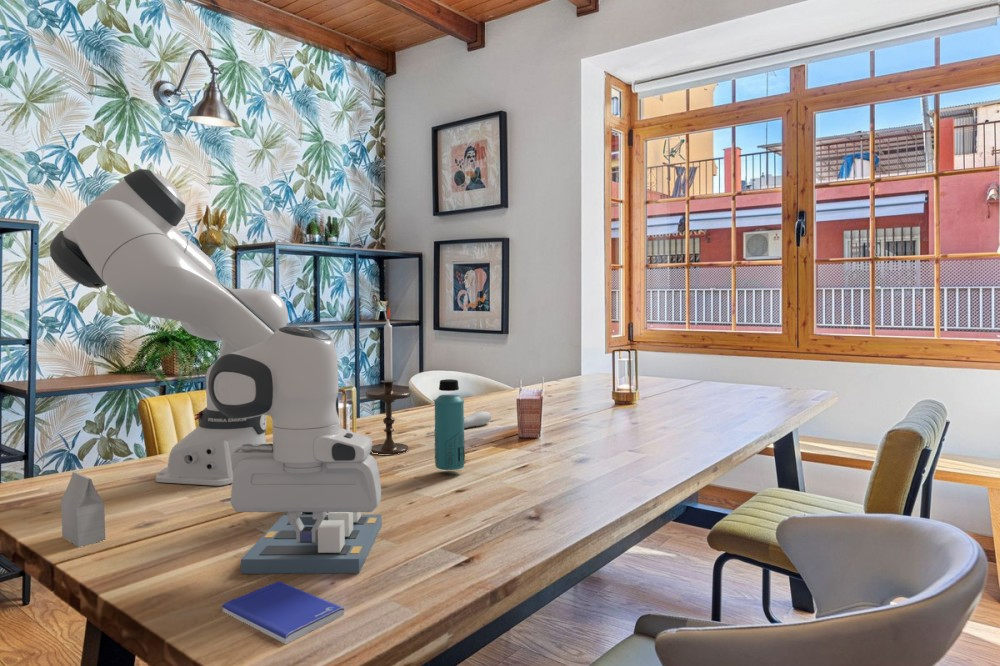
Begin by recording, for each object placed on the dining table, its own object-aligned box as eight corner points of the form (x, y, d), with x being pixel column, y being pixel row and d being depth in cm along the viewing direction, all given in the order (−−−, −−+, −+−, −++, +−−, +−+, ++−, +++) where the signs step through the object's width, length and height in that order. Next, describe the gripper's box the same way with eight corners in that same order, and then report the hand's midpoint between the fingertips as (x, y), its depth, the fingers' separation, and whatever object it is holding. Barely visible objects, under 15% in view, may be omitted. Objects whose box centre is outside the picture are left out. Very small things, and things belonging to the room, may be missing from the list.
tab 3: (338, 522, 102) (337, 500, 102) (342, 515, 105) (342, 494, 105) (357, 522, 102) (357, 500, 102) (361, 515, 105) (360, 494, 105)
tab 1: (328, 536, 96) (328, 513, 96) (333, 529, 99) (333, 506, 99) (348, 536, 96) (348, 513, 96) (353, 529, 99) (352, 506, 99)
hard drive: (344, 606, 78) (280, 579, 85) (285, 634, 71) (221, 603, 78) (344, 618, 78) (280, 591, 85) (285, 648, 71) (222, 616, 78)
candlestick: (384, 444, 166) (382, 306, 164) (420, 448, 161) (419, 306, 159) (357, 453, 156) (355, 306, 154) (394, 458, 152) (393, 307, 150)
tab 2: (318, 552, 90) (317, 527, 90) (323, 544, 93) (323, 520, 93) (339, 552, 90) (339, 527, 90) (344, 544, 93) (344, 520, 93)
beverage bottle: (460, 478, 135) (460, 382, 134) (430, 476, 137) (429, 381, 135) (468, 470, 142) (468, 378, 140) (439, 468, 143) (438, 377, 142)
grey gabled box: (78, 547, 98) (76, 482, 98) (62, 537, 102) (59, 474, 102) (105, 540, 101) (103, 476, 100) (88, 530, 105) (86, 469, 105)
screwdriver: (421, 442, 176) (418, 426, 176) (484, 423, 195) (481, 409, 195) (433, 441, 173) (430, 425, 173) (496, 422, 191) (493, 408, 192)
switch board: (241, 573, 89) (240, 558, 89) (283, 526, 107) (283, 514, 107) (359, 573, 89) (358, 558, 89) (381, 526, 107) (381, 513, 107)
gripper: (221, 449, 88) (223, 550, 88) (374, 449, 88) (375, 550, 89) (240, 438, 94) (241, 533, 95) (382, 438, 94) (383, 533, 95)
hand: (307, 541), depth 92 cm, fingers closed
